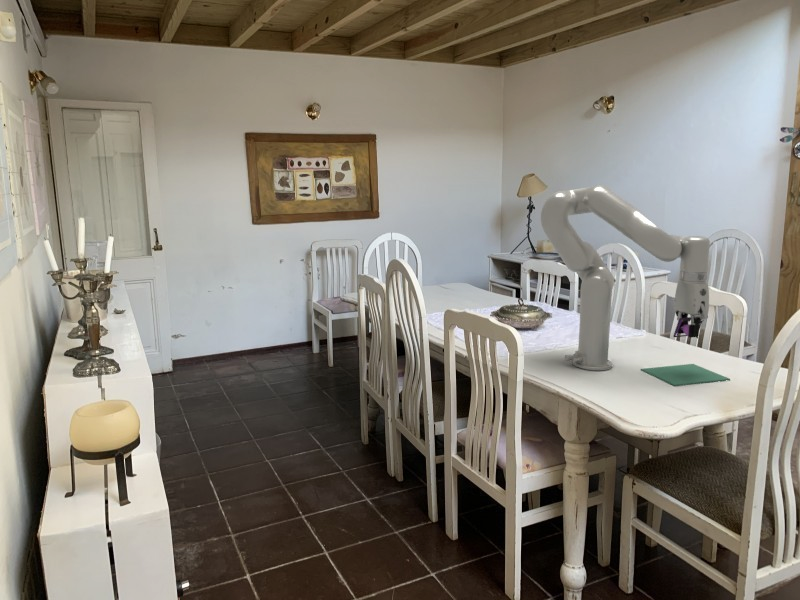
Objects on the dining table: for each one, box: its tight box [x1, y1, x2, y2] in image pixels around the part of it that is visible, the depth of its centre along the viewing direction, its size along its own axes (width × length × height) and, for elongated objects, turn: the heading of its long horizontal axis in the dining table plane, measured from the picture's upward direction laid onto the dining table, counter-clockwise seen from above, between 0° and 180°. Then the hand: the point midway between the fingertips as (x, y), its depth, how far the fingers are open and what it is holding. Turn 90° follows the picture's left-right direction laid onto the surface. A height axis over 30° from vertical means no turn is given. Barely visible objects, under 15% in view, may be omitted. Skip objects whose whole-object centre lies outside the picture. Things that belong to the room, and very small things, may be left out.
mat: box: [640, 363, 731, 387], centre depth 189 cm, size 20×16×1 cm
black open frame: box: [673, 316, 703, 339], centre depth 186 cm, size 7×5×9 cm
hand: (687, 334), depth 187 cm, fingers closed on black open frame, 4 cm apart
